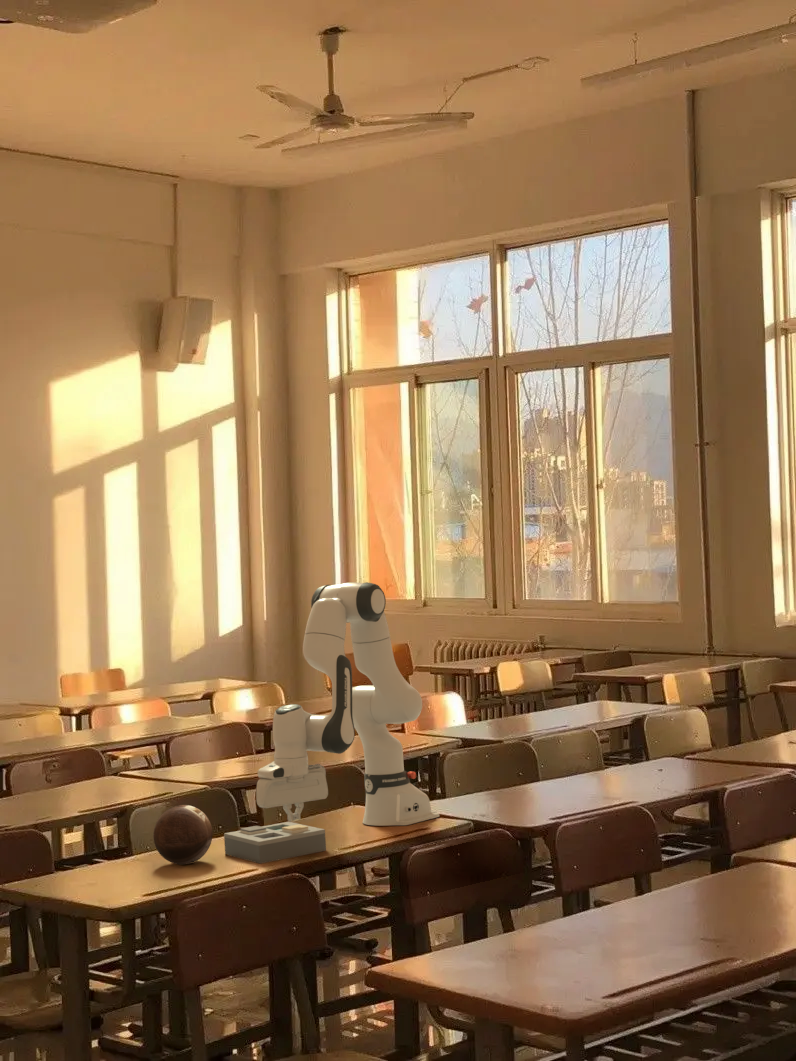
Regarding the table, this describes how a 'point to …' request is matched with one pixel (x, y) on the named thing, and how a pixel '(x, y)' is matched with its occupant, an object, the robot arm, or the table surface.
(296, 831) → the key
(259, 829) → the key
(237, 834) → the keypad
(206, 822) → the wooden sphere
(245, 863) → the table surface
